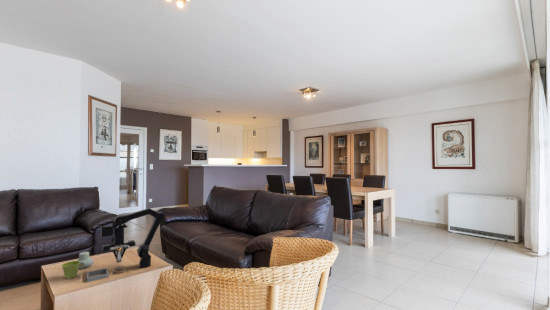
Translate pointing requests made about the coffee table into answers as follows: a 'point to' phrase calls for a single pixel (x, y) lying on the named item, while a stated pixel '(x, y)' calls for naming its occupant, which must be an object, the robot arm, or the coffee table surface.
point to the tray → (98, 275)
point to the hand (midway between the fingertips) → (119, 258)
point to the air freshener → (84, 260)
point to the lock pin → (119, 254)
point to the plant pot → (70, 269)
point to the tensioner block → (118, 270)
